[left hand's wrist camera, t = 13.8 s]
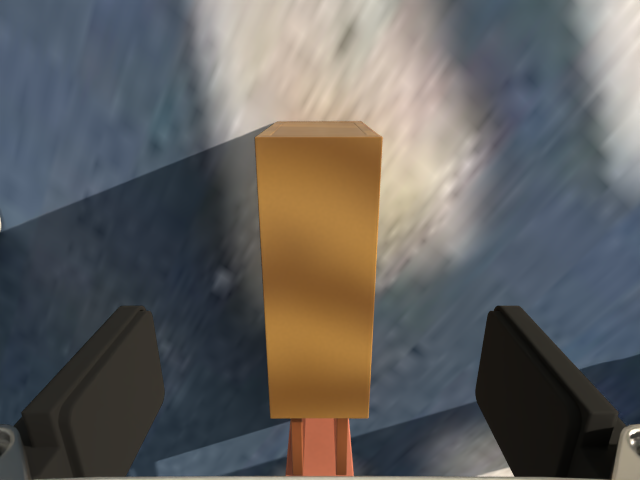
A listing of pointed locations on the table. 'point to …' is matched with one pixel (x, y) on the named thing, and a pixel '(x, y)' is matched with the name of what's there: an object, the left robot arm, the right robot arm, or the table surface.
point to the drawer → (319, 447)
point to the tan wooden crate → (318, 264)
